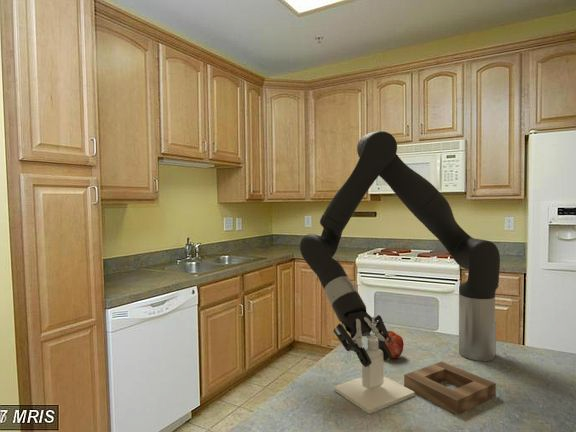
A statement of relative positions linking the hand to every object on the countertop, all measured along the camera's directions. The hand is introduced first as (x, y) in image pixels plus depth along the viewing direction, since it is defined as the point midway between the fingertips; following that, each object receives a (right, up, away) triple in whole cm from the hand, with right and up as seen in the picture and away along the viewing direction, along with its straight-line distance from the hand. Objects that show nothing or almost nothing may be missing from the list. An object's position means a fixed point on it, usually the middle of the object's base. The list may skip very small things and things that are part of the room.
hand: (378, 361), depth 86 cm
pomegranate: (+9, -7, +23) cm, 25 cm away
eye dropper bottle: (-1, -6, +2) cm, 7 cm away
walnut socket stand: (+17, -8, +2) cm, 18 cm away
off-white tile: (-1, -8, +2) cm, 8 cm away
